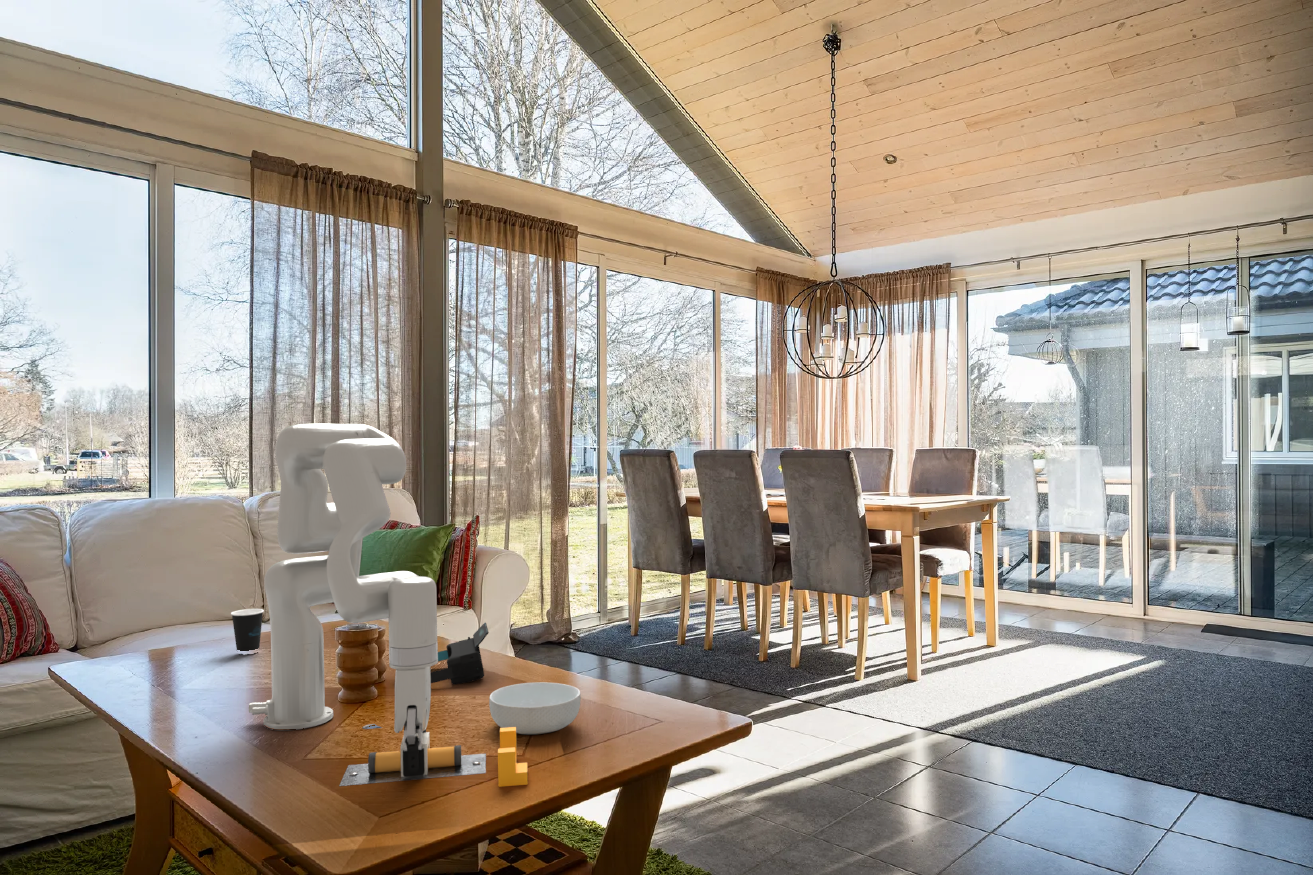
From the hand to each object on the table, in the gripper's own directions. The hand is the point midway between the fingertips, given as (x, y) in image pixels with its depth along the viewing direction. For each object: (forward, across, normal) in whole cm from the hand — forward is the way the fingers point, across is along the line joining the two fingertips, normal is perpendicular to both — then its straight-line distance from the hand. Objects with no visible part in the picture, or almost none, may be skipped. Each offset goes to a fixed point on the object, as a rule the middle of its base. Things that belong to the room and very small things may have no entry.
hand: (415, 766), depth 141 cm
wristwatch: (+2, -21, -6) cm, 22 cm away
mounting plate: (+2, 0, 0) cm, 2 cm away
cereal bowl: (+2, -18, +20) cm, 27 cm away
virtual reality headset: (+2, -63, +1) cm, 63 cm away
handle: (0, 0, 0) cm, 0 cm away
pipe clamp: (+2, +5, +15) cm, 16 cm away
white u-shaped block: (0, 0, 0) cm, 0 cm away
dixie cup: (+2, -102, -51) cm, 114 cm away
